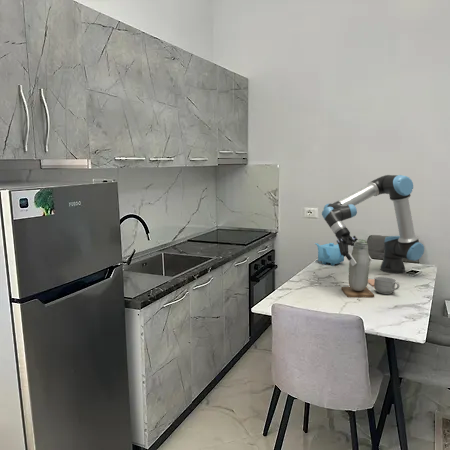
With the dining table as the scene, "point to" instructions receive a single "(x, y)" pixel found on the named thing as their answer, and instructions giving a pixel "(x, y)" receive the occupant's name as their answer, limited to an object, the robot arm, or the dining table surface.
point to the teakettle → (329, 254)
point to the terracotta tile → (371, 282)
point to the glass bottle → (359, 266)
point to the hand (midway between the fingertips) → (362, 262)
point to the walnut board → (357, 292)
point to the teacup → (385, 285)
